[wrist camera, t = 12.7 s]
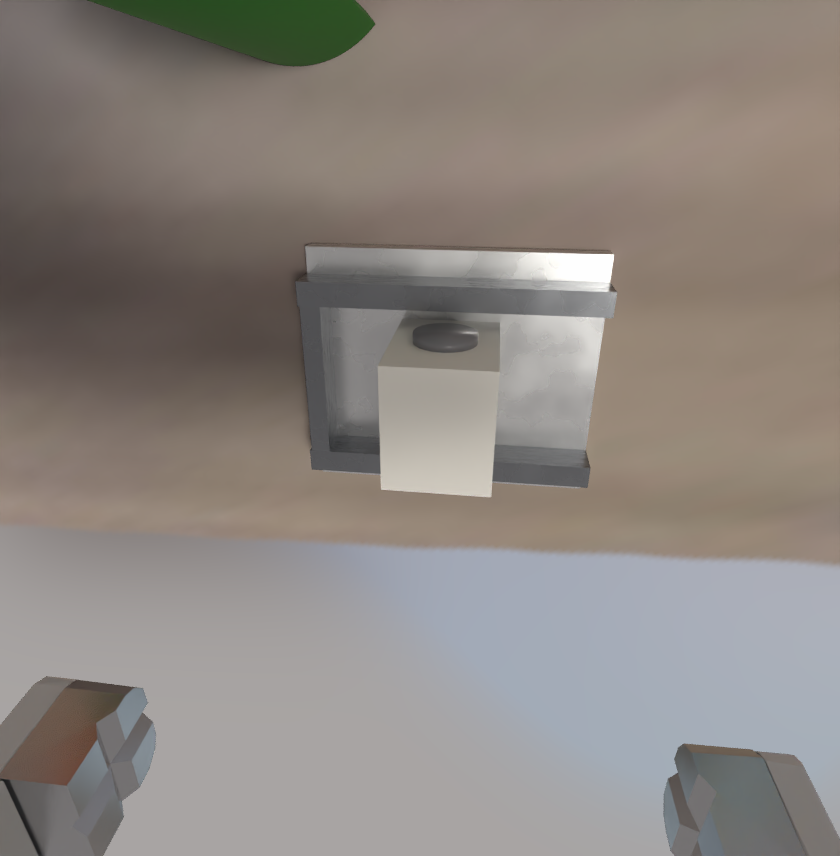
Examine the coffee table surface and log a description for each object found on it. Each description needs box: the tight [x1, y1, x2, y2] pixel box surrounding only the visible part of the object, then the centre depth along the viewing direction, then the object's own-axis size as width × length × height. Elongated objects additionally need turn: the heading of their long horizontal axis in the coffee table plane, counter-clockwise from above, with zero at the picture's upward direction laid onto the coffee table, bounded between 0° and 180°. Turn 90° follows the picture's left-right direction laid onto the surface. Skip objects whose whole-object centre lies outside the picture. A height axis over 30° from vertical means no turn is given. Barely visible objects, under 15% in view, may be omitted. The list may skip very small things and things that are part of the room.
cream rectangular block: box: [378, 319, 500, 497], centre depth 29 cm, size 5×6×7 cm
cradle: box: [295, 243, 617, 488], centre depth 32 cm, size 15×13×3 cm
